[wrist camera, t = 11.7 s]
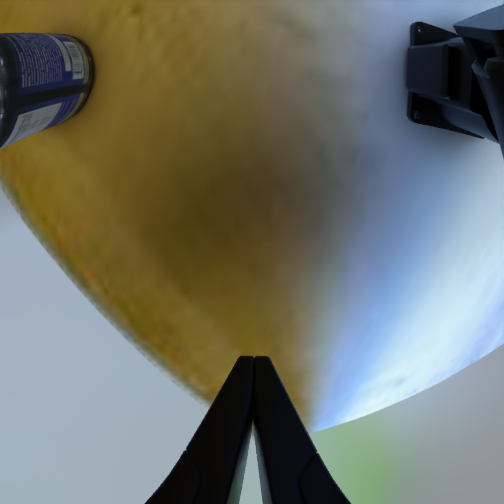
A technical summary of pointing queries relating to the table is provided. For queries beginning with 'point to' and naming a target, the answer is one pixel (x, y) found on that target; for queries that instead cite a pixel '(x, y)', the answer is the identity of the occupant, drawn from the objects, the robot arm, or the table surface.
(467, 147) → the table surface
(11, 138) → the pill bottle
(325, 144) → the table surface
